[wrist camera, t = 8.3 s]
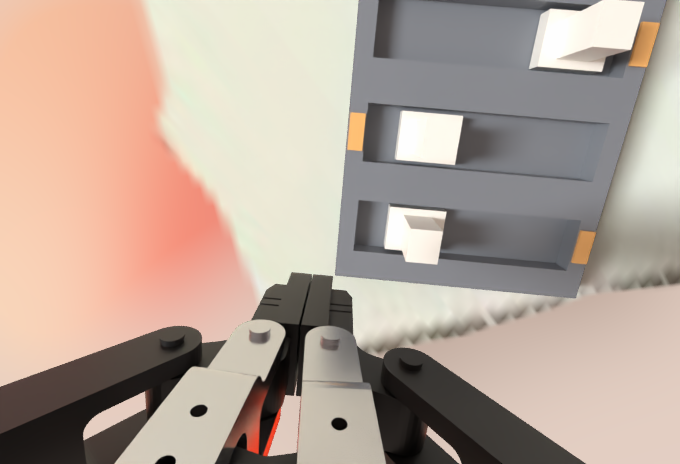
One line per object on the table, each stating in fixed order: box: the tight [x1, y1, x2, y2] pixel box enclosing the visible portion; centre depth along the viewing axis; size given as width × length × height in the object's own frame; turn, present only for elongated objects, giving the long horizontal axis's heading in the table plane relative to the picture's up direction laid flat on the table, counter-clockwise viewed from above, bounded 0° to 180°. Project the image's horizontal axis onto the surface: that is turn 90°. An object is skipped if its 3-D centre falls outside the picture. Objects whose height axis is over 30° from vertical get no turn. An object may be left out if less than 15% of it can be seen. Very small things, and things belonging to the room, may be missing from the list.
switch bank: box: [335, 0, 667, 298], centre depth 25 cm, size 18×21×3 cm
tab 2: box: [384, 203, 446, 265], centre depth 25 cm, size 4×3×5 cm
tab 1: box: [395, 111, 463, 165], centre depth 23 cm, size 4×3×5 cm
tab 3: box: [529, 0, 645, 75], centre depth 21 cm, size 4×3×5 cm
